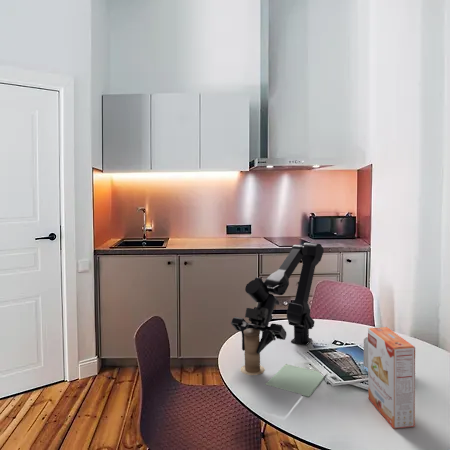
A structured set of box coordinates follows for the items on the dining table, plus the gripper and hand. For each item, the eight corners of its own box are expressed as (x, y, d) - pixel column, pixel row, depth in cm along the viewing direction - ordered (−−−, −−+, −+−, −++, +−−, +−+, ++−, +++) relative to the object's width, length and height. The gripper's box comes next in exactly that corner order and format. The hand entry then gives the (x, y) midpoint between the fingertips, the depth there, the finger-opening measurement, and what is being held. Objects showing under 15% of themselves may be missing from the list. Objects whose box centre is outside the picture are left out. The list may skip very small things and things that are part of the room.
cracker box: (366, 399, 109) (366, 327, 108) (387, 398, 110) (387, 325, 108) (392, 429, 96) (392, 347, 94) (415, 428, 96) (416, 345, 94)
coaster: (247, 363, 134) (247, 362, 134) (268, 368, 130) (268, 367, 130) (236, 372, 128) (236, 371, 128) (257, 378, 124) (257, 377, 123)
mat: (286, 365, 132) (286, 363, 132) (326, 374, 125) (326, 373, 125) (265, 385, 119) (264, 384, 119) (309, 397, 111) (309, 396, 111)
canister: (249, 364, 133) (248, 327, 132) (263, 367, 130) (262, 330, 129) (241, 370, 128) (240, 332, 127) (256, 374, 125) (255, 335, 124)
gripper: (232, 294, 135) (216, 335, 127) (282, 301, 125) (268, 346, 117) (244, 310, 143) (229, 350, 134) (292, 317, 133) (279, 361, 124)
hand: (250, 351), depth 127 cm, fingers closed on canister, 5 cm apart
